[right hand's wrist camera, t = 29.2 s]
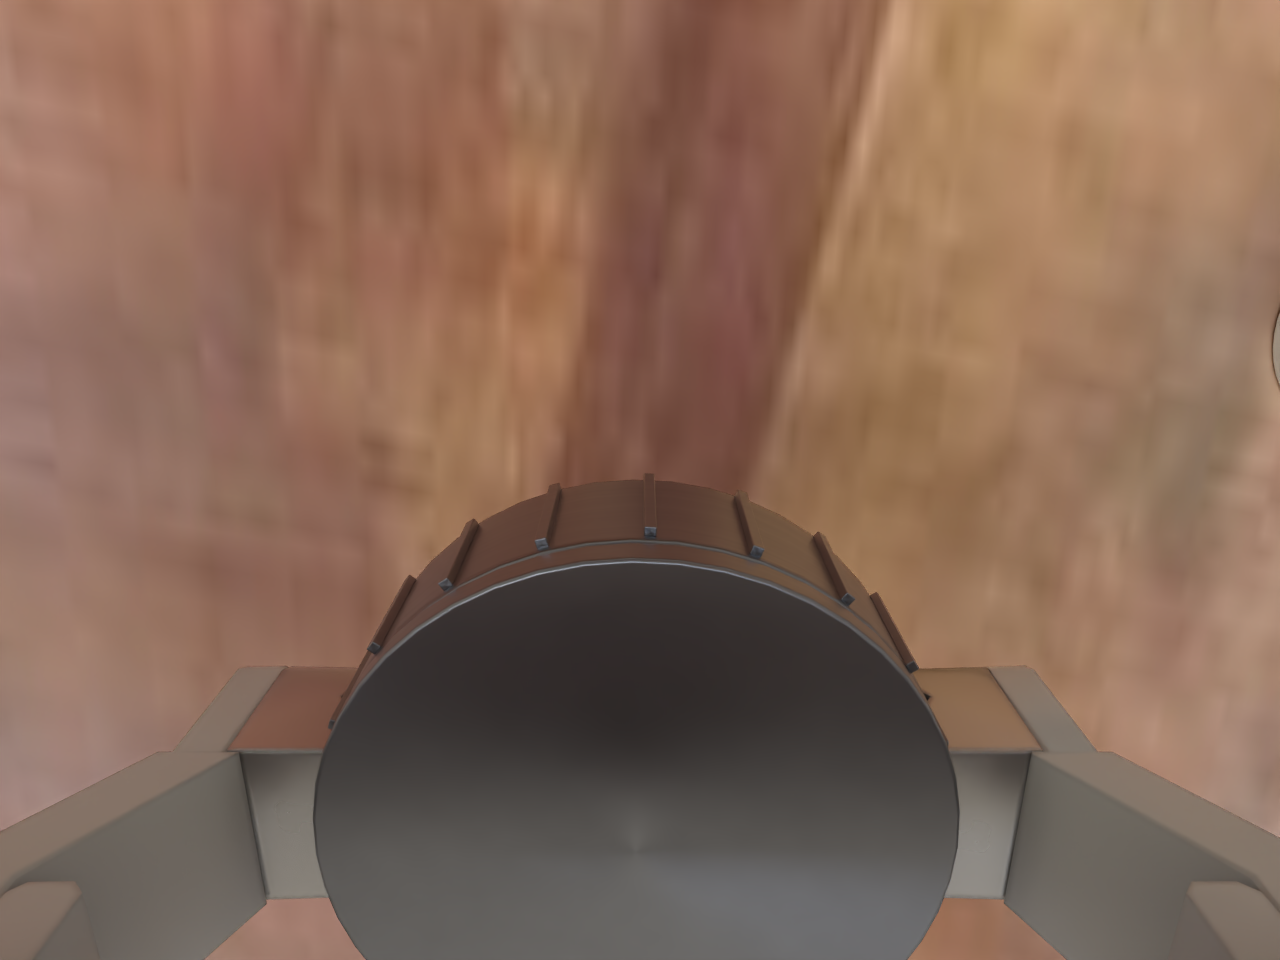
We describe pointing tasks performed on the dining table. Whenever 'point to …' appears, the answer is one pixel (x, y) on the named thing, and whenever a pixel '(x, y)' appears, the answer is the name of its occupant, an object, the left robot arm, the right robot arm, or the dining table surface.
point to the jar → (1277, 349)
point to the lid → (636, 746)
